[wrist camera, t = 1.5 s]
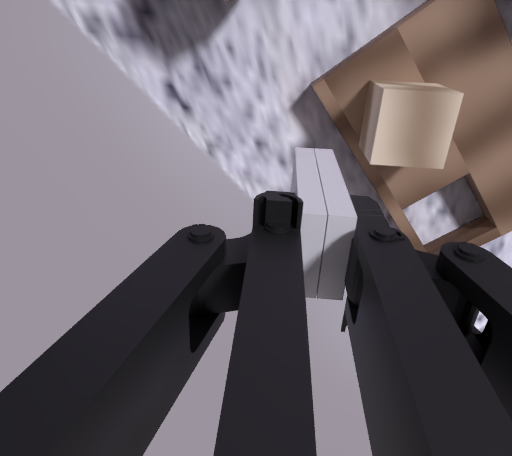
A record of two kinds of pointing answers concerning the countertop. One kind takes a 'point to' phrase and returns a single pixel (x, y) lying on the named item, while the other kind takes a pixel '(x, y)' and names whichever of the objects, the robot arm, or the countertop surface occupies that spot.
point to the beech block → (408, 123)
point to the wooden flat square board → (469, 118)
